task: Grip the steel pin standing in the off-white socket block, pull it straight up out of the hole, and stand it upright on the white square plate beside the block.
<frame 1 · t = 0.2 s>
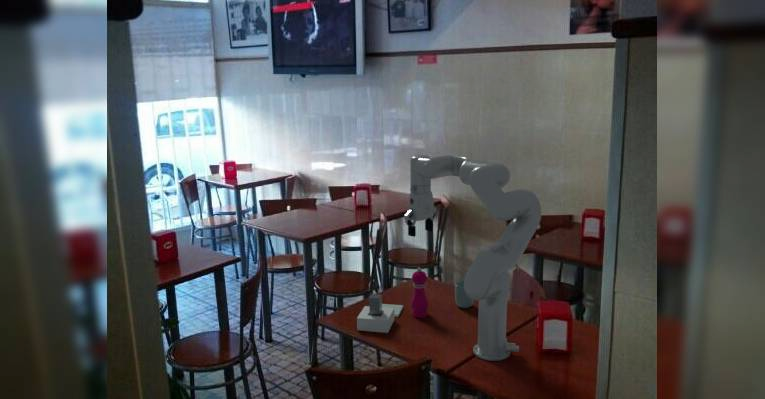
hand: (420, 233, 218), 37 cm above the table, tool pointing down, fingers open, 9 cm apart
white square plate: (388, 311, 239), on the table
steel pin: (375, 310, 225), in the socket block
pepper mill: (419, 315, 235), on the table
cup: (464, 306, 243), on the table
socket block: (376, 325, 226), on the table
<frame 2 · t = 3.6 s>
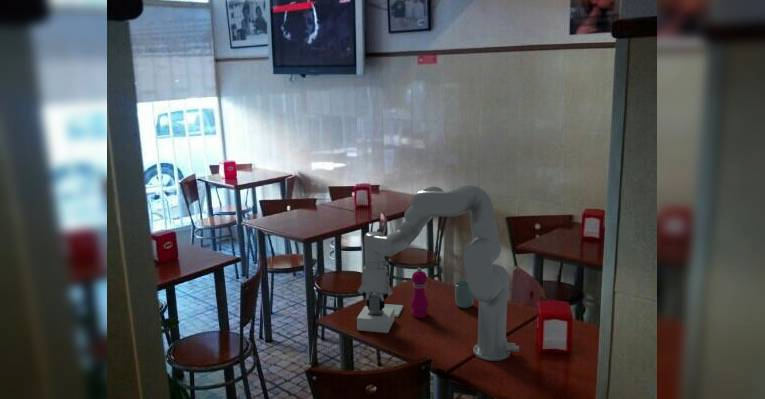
hand: (375, 308, 224), 7 cm above the table, tool pointing down, fingers closed on steel pin, 4 cm apart
steel pin: (375, 310, 225), in the socket block, touching gripper
everything else where it was.
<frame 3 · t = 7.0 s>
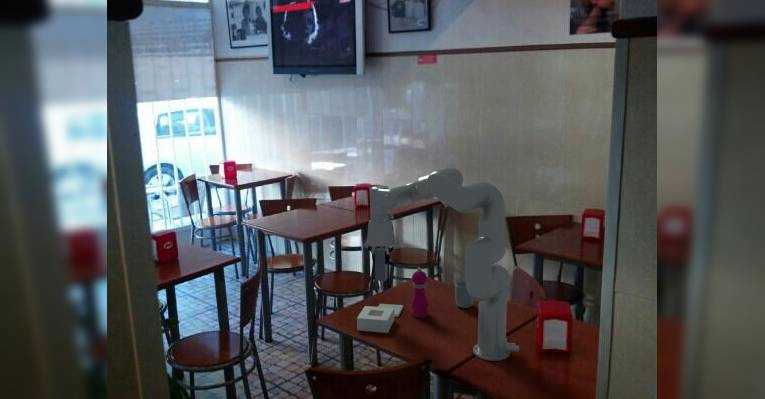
hand: (381, 262, 227), 23 cm above the table, tool pointing down, fingers closed on steel pin, 4 cm apart
steel pin: (381, 264, 227), point 23 cm above the table, touching gripper
everything else where it was.
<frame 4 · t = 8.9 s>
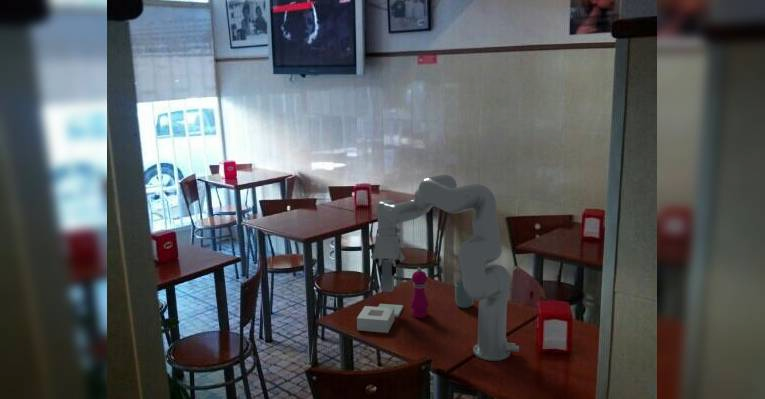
hand: (387, 274, 235), 16 cm above the table, tool pointing down, fingers closed on steel pin, 4 cm apart
steel pin: (388, 276, 236), point 15 cm above the table, touching gripper
everything else where it was.
when the fingers open (9 cm above the table, at t = 10.5 s): steel pin drops 1 cm, resting on white square plate.
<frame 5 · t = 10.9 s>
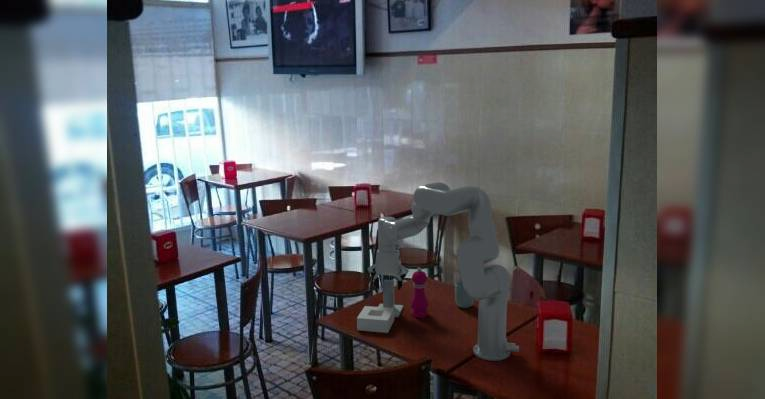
hand: (388, 288, 237), 10 cm above the table, tool pointing down, fingers open, 8 cm apart
steel pin: (388, 295, 237), on the white square plate, point 7 cm above the table
everything else where it was.
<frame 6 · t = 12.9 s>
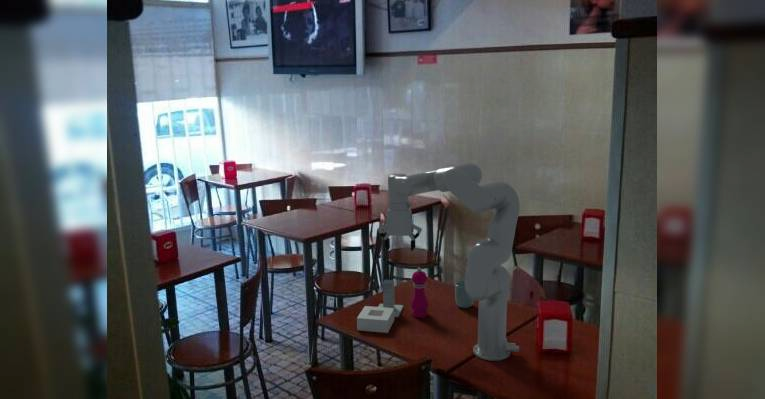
hand: (400, 249, 224), 29 cm above the table, tool pointing down, fingers open, 9 cm apart
nothing on the table moved.
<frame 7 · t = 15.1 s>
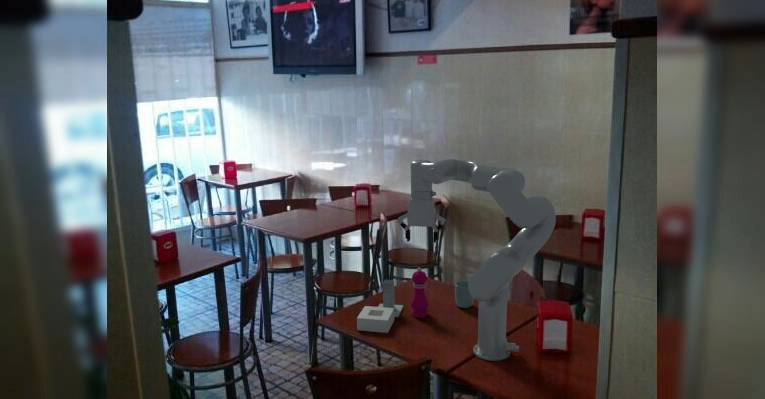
hand: (421, 241, 209), 36 cm above the table, tool pointing down, fingers open, 9 cm apart
nothing on the table moved.
at the end: steel pin inside the target area on the white square plate (0.1 cm from its centre), point 7.0 cm above the white square plate's base; steel pin tilted 0°; the gripper is holding nothing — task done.
